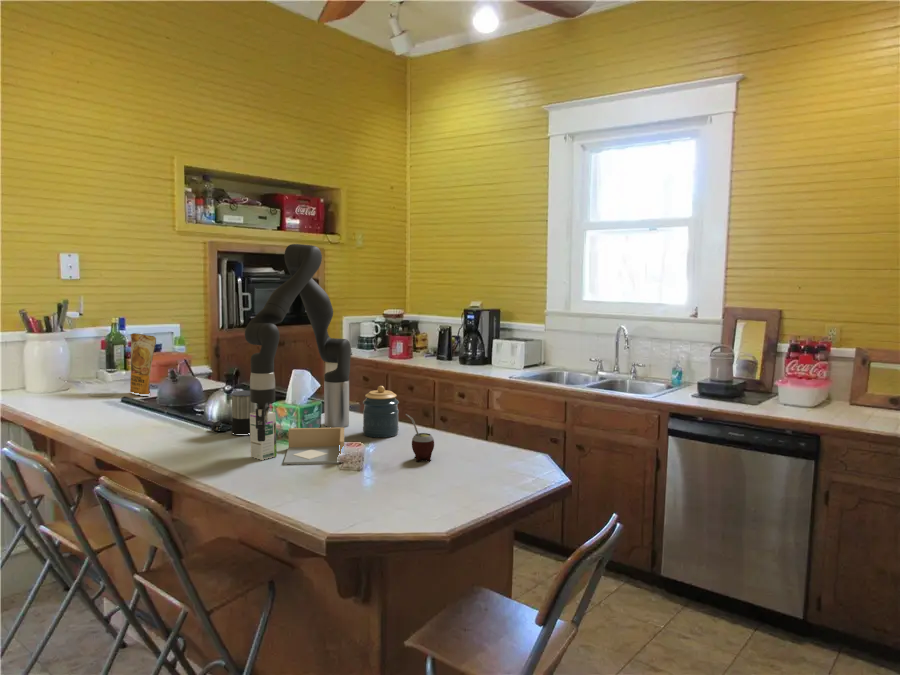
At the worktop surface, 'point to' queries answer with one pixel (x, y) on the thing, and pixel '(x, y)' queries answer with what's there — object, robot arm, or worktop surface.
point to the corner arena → (314, 445)
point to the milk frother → (239, 413)
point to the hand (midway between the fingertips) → (263, 437)
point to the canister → (380, 413)
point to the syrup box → (269, 445)
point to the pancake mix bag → (141, 362)
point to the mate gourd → (422, 444)
